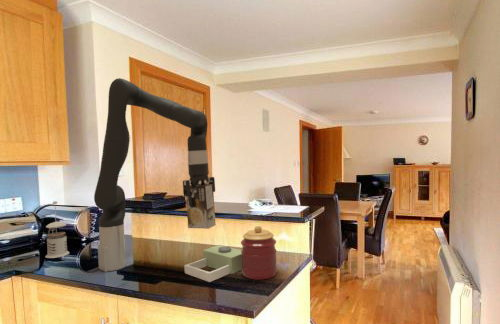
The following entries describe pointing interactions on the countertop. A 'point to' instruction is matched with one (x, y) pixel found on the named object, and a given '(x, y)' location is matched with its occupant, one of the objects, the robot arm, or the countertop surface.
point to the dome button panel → (216, 263)
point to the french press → (56, 240)
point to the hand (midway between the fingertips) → (200, 205)
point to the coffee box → (202, 208)
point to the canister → (258, 254)
